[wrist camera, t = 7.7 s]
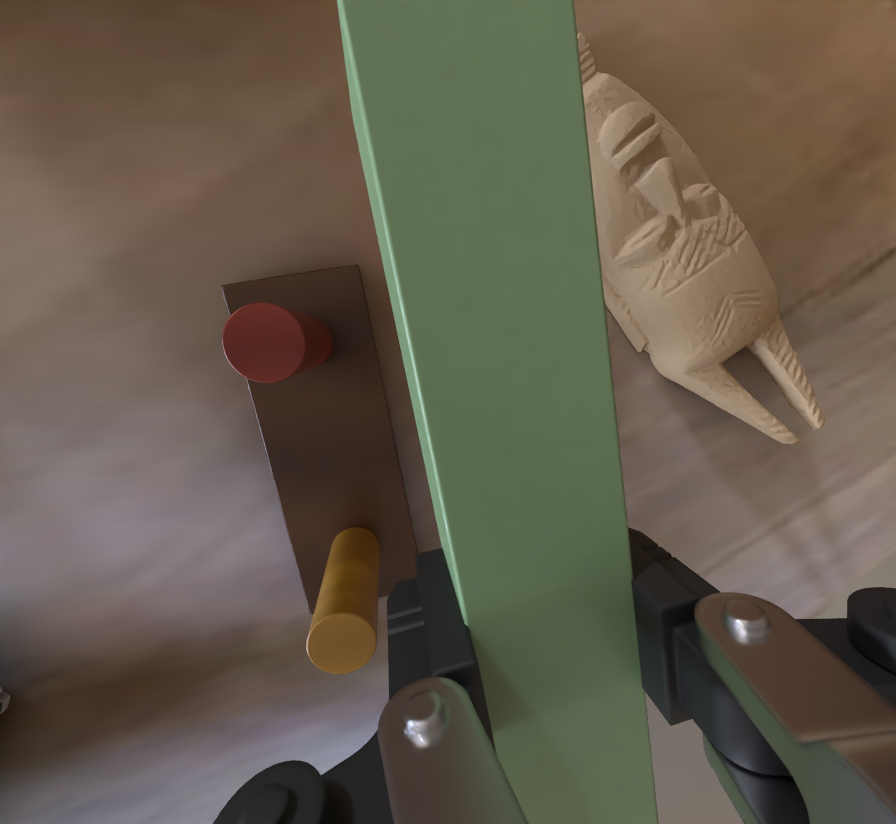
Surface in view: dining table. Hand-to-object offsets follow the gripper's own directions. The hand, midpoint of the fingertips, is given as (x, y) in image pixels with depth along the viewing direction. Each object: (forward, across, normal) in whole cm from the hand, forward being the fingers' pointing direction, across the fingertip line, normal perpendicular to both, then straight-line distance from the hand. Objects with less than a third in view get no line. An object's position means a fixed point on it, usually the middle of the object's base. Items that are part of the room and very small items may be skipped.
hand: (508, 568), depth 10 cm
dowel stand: (+19, +6, +1) cm, 20 cm away
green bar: (0, 0, 0) cm, 0 cm away
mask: (+19, -19, -7) cm, 28 cm away
